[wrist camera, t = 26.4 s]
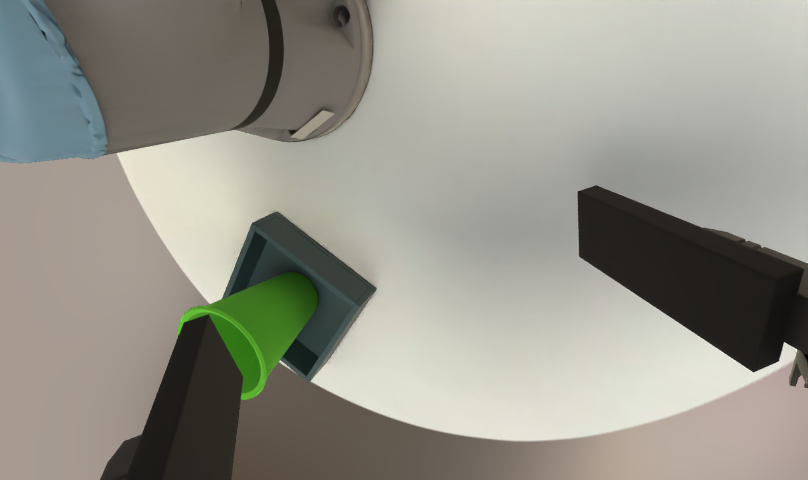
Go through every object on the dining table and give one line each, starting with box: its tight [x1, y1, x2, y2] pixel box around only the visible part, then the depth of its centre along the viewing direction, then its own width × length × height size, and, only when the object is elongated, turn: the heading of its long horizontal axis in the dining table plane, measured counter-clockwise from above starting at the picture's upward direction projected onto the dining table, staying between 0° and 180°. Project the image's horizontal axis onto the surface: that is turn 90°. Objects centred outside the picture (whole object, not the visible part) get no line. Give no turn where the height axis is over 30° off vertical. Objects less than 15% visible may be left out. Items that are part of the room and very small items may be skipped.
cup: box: [178, 272, 318, 400], centre depth 38 cm, size 9×9×11 cm
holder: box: [222, 212, 376, 383], centre depth 42 cm, size 13×13×4 cm
